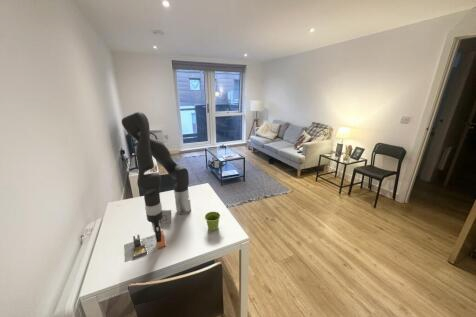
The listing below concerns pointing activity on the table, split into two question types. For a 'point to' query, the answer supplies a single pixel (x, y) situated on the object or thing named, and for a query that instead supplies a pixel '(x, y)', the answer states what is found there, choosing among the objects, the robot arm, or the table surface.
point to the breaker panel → (141, 248)
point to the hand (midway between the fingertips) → (158, 236)
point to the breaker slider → (136, 240)
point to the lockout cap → (162, 243)
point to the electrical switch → (166, 216)
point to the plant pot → (212, 220)
